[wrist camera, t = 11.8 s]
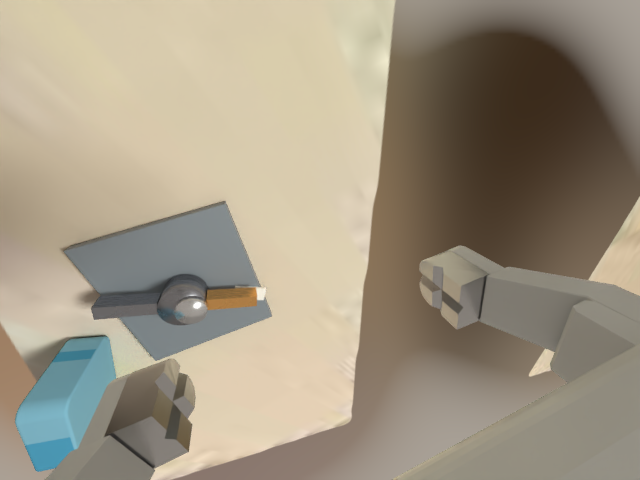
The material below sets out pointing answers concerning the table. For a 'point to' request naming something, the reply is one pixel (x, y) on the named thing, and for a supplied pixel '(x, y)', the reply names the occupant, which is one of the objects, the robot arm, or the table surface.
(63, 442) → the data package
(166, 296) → the bar with grey ball
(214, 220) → the stand
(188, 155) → the table surface
